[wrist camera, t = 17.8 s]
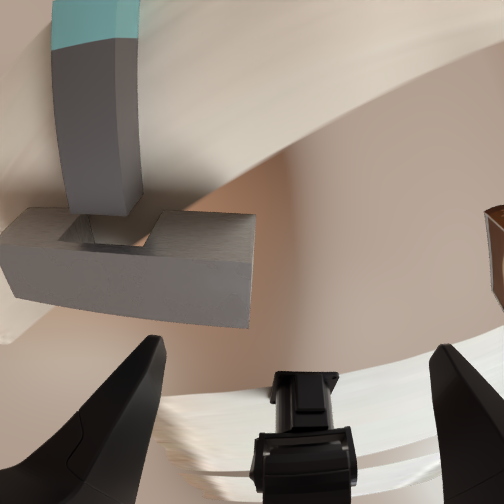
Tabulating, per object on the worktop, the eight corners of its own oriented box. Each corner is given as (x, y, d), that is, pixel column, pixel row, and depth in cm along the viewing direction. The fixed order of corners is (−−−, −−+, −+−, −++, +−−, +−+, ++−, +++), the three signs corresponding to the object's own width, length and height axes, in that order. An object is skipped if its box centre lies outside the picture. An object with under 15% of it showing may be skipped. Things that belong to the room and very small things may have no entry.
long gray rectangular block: (252, 276, 23) (248, 328, 19) (44, 258, 23) (15, 297, 19) (255, 214, 20) (252, 262, 16) (27, 207, 20) (-9, 243, 16)
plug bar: (143, 193, 20) (126, 216, 17) (91, 192, 20) (70, 213, 17) (140, -9, 12) (118, -17, 10) (80, 3, 12) (52, 1, 10)
